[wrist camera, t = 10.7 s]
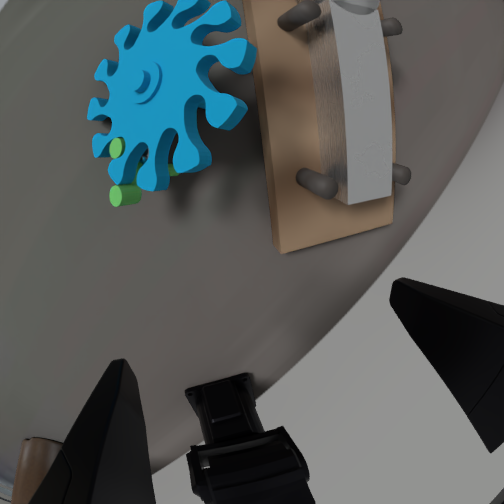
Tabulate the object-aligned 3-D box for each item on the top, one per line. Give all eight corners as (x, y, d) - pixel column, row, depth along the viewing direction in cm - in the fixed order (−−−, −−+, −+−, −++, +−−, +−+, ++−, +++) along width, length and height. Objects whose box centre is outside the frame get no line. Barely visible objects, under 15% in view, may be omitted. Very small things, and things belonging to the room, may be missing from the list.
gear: (126, -10, 9) (286, -7, 6) (190, 22, 14) (327, 55, 11) (60, 165, 14) (163, 260, 11) (130, 161, 19) (236, 234, 16)
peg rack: (380, 216, 23) (417, 238, 19) (273, 244, 21) (300, 276, 17) (363, -13, 13) (402, -27, 9) (237, -31, 11) (259, -63, 7)
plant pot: (-7, 416, 20) (-19, 517, 6) (98, 439, 26) (109, 553, 12) (30, 463, 26) (31, 539, 12) (114, 477, 32) (127, 557, 18)
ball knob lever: (368, 182, 19) (396, 194, 16) (316, 192, 18) (341, 206, 16) (345, -22, 11) (372, -35, 9) (287, -32, 10) (309, -51, 8)
